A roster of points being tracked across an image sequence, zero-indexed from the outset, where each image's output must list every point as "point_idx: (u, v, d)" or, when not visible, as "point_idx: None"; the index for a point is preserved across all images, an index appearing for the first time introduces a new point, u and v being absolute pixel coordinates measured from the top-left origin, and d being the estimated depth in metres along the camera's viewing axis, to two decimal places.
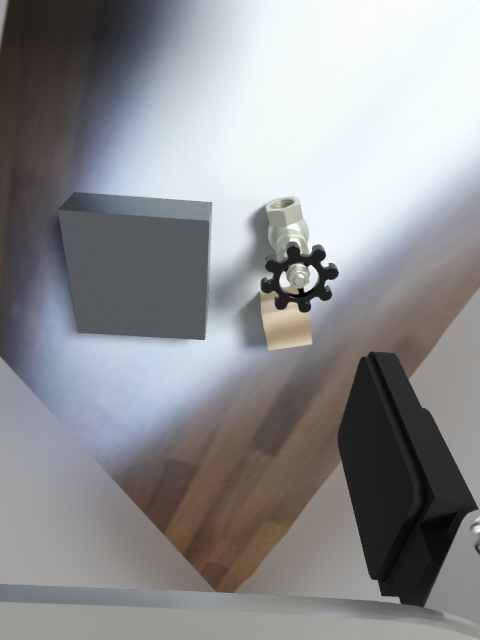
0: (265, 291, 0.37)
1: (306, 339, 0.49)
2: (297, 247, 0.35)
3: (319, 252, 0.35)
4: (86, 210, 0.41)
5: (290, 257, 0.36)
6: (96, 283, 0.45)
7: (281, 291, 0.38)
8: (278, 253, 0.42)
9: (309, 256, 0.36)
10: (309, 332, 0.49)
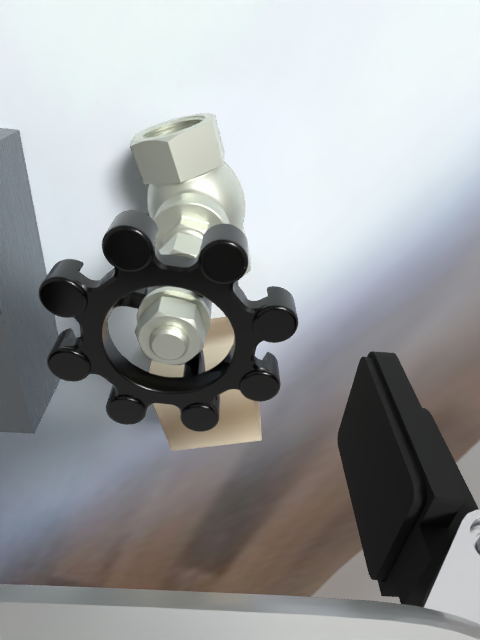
0: (64, 376, 0.12)
1: (249, 432, 0.23)
2: (137, 233, 0.09)
3: (223, 251, 0.10)
4: None
5: (119, 269, 0.10)
6: None
7: (118, 375, 0.12)
8: None
9: (191, 265, 0.10)
10: (254, 419, 0.23)
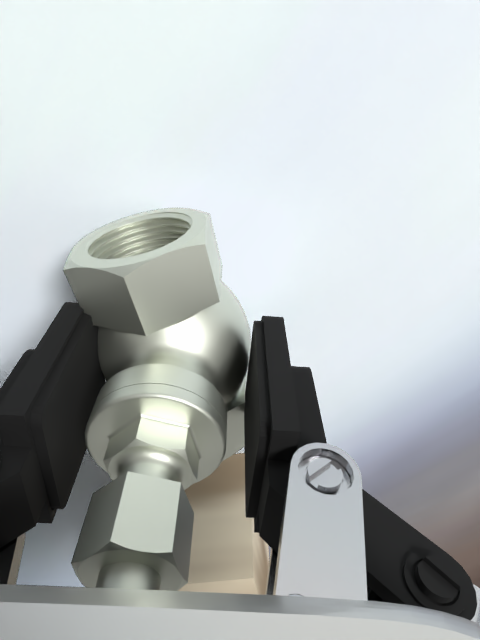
0: None
1: None
2: None
3: None
4: None
5: None
6: None
7: None
8: (97, 459, 0.09)
9: None
10: None
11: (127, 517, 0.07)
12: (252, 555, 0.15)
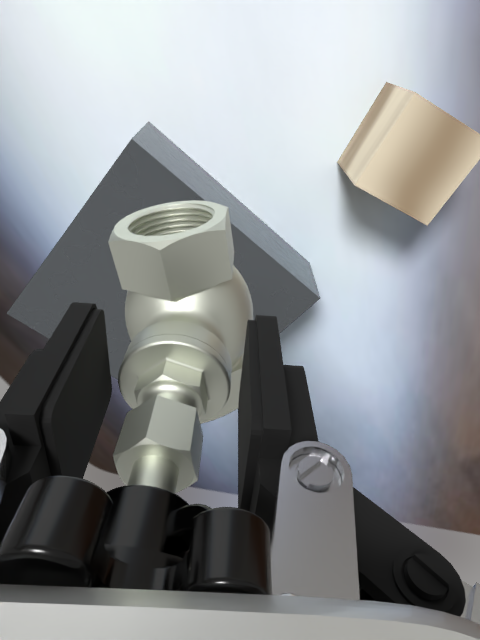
0: None
1: (473, 145, 0.22)
2: (61, 564, 0.05)
3: None
4: (27, 284, 0.27)
5: None
6: None
7: None
8: (125, 394, 0.12)
9: None
10: (465, 129, 0.22)
11: (157, 424, 0.09)
12: (411, 91, 0.22)
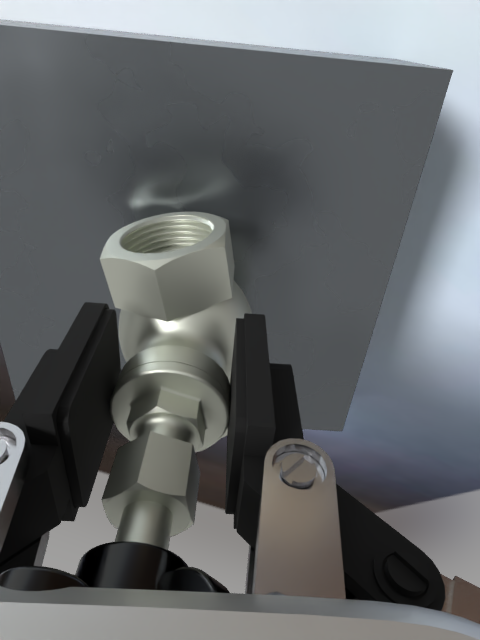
0: None
1: None
2: None
3: None
4: (9, 362, 0.18)
5: None
6: None
7: None
8: (117, 423, 0.11)
9: None
10: None
11: (150, 466, 0.09)
12: None
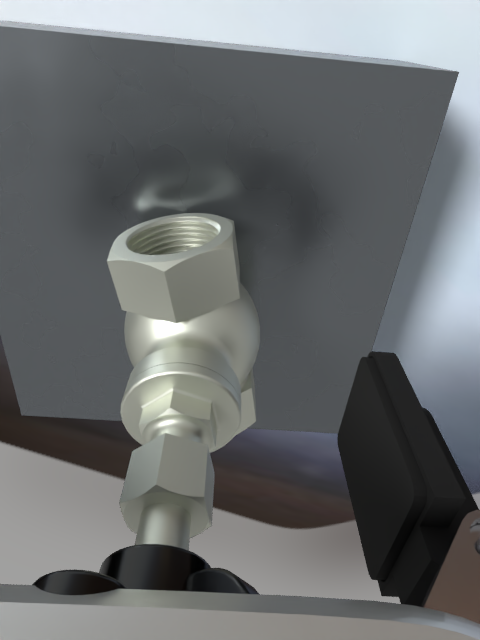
0: None
1: None
2: None
3: None
4: (11, 364, 0.18)
5: None
6: None
7: None
8: (128, 426, 0.11)
9: None
10: None
11: (167, 468, 0.09)
12: None
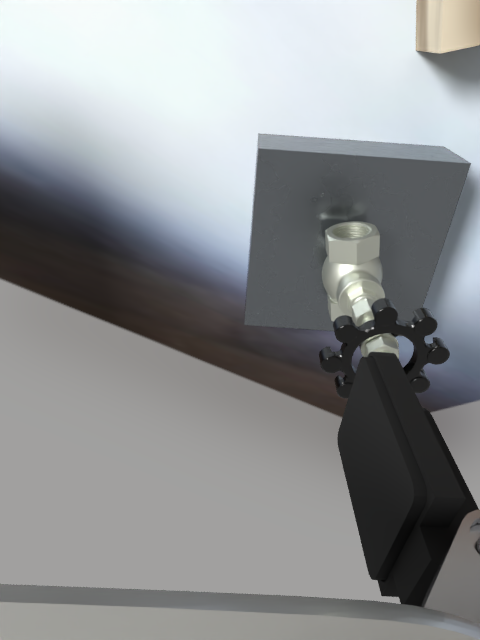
0: (327, 369, 0.23)
1: None
2: (394, 311, 0.21)
3: (428, 322, 0.22)
4: (246, 296, 0.35)
5: (379, 324, 0.22)
6: None
7: (352, 372, 0.24)
8: (340, 304, 0.28)
9: (409, 325, 0.22)
10: None
11: (371, 306, 0.26)
12: None
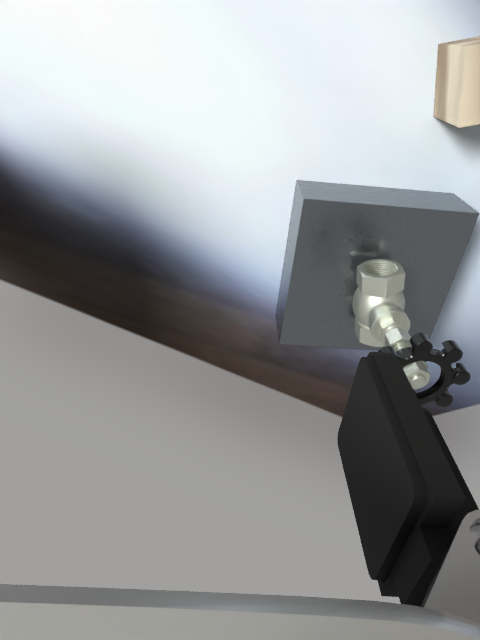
0: None
1: None
2: (430, 344, 0.27)
3: (455, 352, 0.27)
4: (282, 319, 0.40)
5: (416, 354, 0.27)
6: None
7: None
8: (373, 330, 0.34)
9: (440, 355, 0.28)
10: None
11: (402, 334, 0.31)
12: (463, 46, 0.29)
